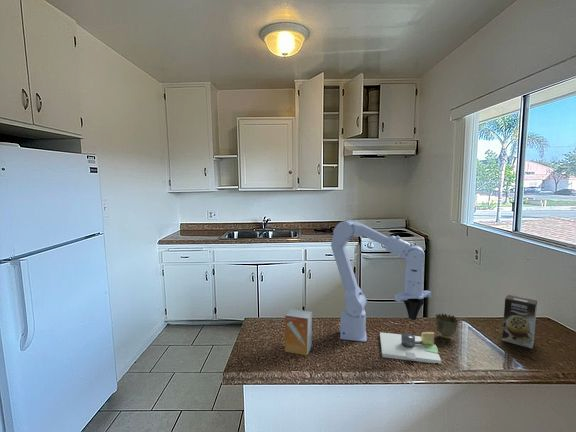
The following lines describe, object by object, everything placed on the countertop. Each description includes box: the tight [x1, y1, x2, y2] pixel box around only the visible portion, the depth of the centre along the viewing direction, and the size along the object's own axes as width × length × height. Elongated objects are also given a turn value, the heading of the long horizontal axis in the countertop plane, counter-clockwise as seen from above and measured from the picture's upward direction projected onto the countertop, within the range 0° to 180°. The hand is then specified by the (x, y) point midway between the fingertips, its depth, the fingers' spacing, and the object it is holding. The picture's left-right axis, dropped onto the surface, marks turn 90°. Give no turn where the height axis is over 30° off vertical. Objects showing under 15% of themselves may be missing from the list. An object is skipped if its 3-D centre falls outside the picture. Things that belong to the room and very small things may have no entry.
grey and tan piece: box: [401, 331, 435, 348], centre depth 110 cm, size 11×4×4 cm, turn 93°
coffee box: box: [501, 294, 538, 349], centre depth 114 cm, size 9×6×16 cm
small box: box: [284, 308, 313, 356], centre depth 108 cm, size 8×6×13 cm
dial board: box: [379, 331, 442, 365], centre depth 109 cm, size 19×18×1 cm
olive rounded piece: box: [435, 313, 459, 340], centre depth 117 cm, size 8×7×8 cm
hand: (412, 318), depth 110 cm, fingers closed
